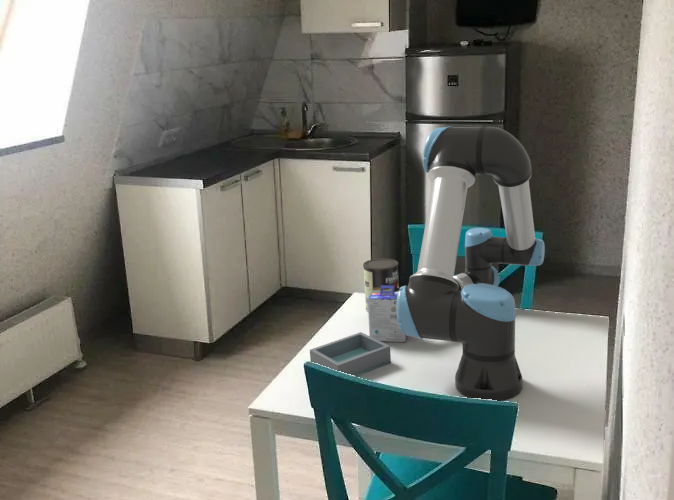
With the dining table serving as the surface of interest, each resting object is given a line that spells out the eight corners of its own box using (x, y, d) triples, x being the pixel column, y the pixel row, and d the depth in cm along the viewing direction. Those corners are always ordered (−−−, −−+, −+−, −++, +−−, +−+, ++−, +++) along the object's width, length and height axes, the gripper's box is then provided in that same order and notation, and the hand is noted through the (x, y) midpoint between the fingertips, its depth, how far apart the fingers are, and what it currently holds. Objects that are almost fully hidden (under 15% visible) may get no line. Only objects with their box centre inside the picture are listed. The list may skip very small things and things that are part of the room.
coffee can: (406, 305, 221) (405, 260, 216) (387, 317, 213) (385, 271, 209) (378, 299, 227) (376, 256, 223) (358, 310, 219) (356, 265, 215)
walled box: (390, 362, 184) (390, 346, 183) (338, 382, 175) (337, 365, 174) (361, 347, 194) (360, 332, 192) (310, 366, 185) (309, 349, 184)
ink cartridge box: (408, 334, 200) (406, 284, 196) (406, 342, 195) (404, 291, 191) (372, 333, 202) (370, 283, 198) (369, 341, 197) (366, 290, 193)
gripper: (486, 313, 201) (427, 335, 190) (425, 291, 221) (368, 309, 210) (486, 288, 199) (427, 308, 188) (424, 267, 219) (367, 284, 208)
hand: (396, 308), depth 199 cm, fingers open, 13 cm apart
